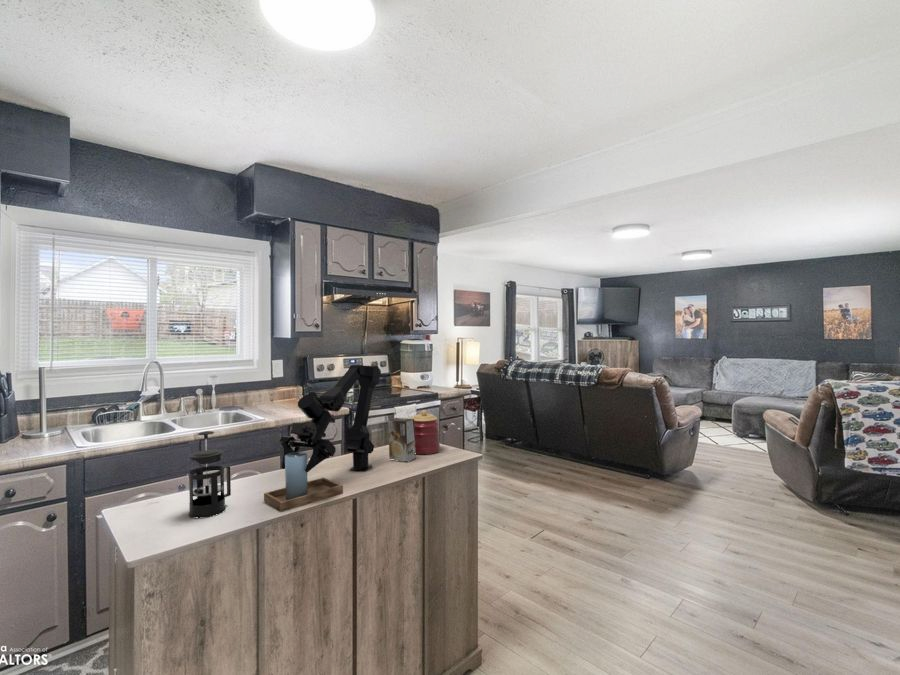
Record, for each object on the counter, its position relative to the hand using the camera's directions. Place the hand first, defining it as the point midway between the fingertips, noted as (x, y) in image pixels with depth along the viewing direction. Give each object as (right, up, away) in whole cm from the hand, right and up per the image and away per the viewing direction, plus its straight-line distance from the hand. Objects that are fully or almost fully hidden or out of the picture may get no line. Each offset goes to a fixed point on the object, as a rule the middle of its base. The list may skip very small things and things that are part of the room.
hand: (294, 470), depth 136 cm
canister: (+37, -8, +55) cm, 67 cm away
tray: (+2, -9, +2) cm, 10 cm away
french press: (-22, -10, -7) cm, 25 cm away
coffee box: (+28, -9, +43) cm, 52 cm away
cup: (+1, -9, +1) cm, 9 cm away
